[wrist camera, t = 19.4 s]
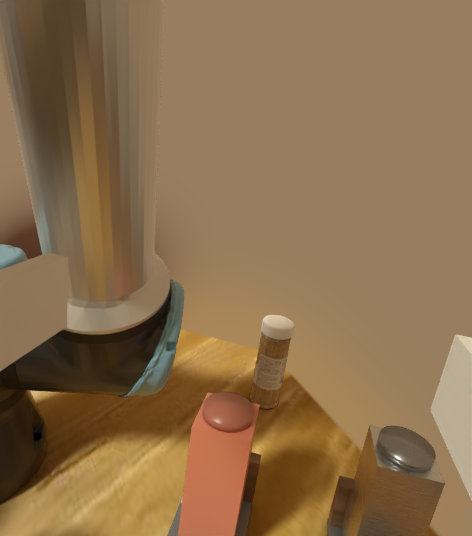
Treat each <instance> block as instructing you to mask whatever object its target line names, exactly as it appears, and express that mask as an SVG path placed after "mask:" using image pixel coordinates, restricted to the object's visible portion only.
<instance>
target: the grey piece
mask: <svg viewBox="0 0 472 536" xmlns="http://www.w3.org/2000/svg"><path fill="white" fill-rule="evenodd" d="M260 459H261V455H259V454H255V453H252V452H251V456H250V461H249V467H248V472H247V478H246V483H245V488H244V494H243V499H242V505H241V509H240V514H239V519H238V523H237V528H236V533H235V536H246V532H247V527H248V522H249V516H250V511H251V506H252V500H253V495H254V490H255V485H256V480H257V475H258V470H259V464H260ZM182 498H183V497H182ZM181 506H182V500H181V503H180V505H179V508H178V510H177V513H176V515H175V518H174V520H173V523H172V525H171V528H170V530H169V533H168V535H167V536H178V530H179V522H180V514H181Z"/></svg>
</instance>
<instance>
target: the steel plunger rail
mask: <svg viewBox="0 0 472 536" xmlns="http://www.w3.org/2000/svg"><path fill="white" fill-rule="evenodd" d="M353 482H354V479H350V478H346V477H342V476H340V477H339V480H338V484H337V488H336V491H335V495H334V499H333V502H332V506H331V510H330V514H329V517H328V521H327V536H342V533H341V524H342V520H343V517H344V513H345V510H346V506H347V503H348V499H349V496H350V492H351V489H352V485H353Z"/></svg>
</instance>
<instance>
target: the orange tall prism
mask: <svg viewBox="0 0 472 536" xmlns="http://www.w3.org/2000/svg"><path fill="white" fill-rule="evenodd" d="M259 407H260V405H258V404H254V403H251V402H250V401H249V400H248V399H246V398H245V397H243V396H241V395H239V394H236V393H232V392H218V393H214V394H213V393H209V392H208V393H207V395H206V397H205V399H204V401H203V403H202V405H201V408H200V410H199V412H198V414H197V416H196V418H195V420H194V422H193V425H192V427H191V435H190V443H189V451H188V459H187V467H186V475H185V483H184V490H183V498H182V506H181V514H180V522H179V530H178V536H235V533H236V528H237V523H238V519H239V514H240V509H241V505H242V499H243V494H244V488H245V483H246V478H247V472H248V467H249V461H250V456H251V450H252V445H253V440H254V434H255V429H256V423H257V418H258V412H259Z"/></svg>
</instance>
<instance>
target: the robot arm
mask: <svg viewBox="0 0 472 536" xmlns="http://www.w3.org/2000/svg"><path fill="white" fill-rule="evenodd" d="M163 17H164V0H0V55H1V60H2V65H3V69H4V74H5V79H6V84H7V88H8V93H9V98H10V102H11V107H12V112H13V117H14V121H15V126H16V131H17V136H18V140H19V145H20V150H21V155H22V159H23V164H24V169H25V174H26V178H27V183H28V187H29V193H30V197H31V202H32V207H33V211H34V216H35V221H36V226H37V231H38V235H39V240H40V245H41V250H42V254H43V255H41V256H38V257H35V258H32V259H30V260H28V258H27V257H26V255H25V253H24V251H23V250H22V249H19V248H14V247H13V246H10V245H1V244H0V502H2V501H4V500H5V499H7V498H8V497H10V496H11V495H13V494H14V493H15V492H17V491H18V490H19V489H20V488H22V487H23V486H24V485H25V484H26V483H27V482H28V481H29V480H30V479H31V478H32V477H33V475H34V474H35V473H36V472H37V470H38V469H39V467H40V465H41V464H42V462H43V459H44V457H45V453H46V446H47V440H46V425H45V422H44V419H43V417H42V415H41V413H40V411H39V409H38V407H37V404H36V402H35V400H34V398H33V396H32V394H31V392H30V390H32V391H50V392H69V393H88V394H106V395H118V396H119V397H123V398H127V397H130V396H150V395H154V394H157V393H158V392H160V391H161V390H162V389H163V388H164V387H165V385H166V383H167V381H168V379H169V376H170V373H171V370H172V366H173V362H174V358H175V354H176V344H177V342H178V338H179V334H180V329H181V323H182V316H183V307H184V289H183V287H182V285H181V284H180V283H177V282H174V281H173V280H170V277H169V272H168V269H167V267H166V265H165V263H164V262H163V261H162V259H161V258H160V257H159V256H158V255H157V254H156V253H154V246H155V221H156V220H155V219H156V196H157V171H158V145H159V118H160V93H161V68H162V67H161V66H162V43H163ZM430 410H431V413H432V415H433V417H434V419H435V421H436V423H437V426H438V428H439V430H440V432H441V435H442V437H443V439H444V441H445V443H446V445H447V448H448V450H449V452H450V454H451V456H452V459H453V461H454V463H455V465H456V467H457V470H458V472H459V474H460V476H461V478H462V481H463V483H464V485H465V487H466V489H467V491H468V494H469V496H470V498H471V500H472V338H470V337H466V336H461V335H455V338H454V341H453V344H452V347H451V350H450V353H449V356H448V359H447V362H446V365H445V368H444V370H443V374H442V376H441V380H440V383H439V385H438V388H437V391H436V394H435V397H434V400H433V403H432V406H431V409H430Z"/></svg>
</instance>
